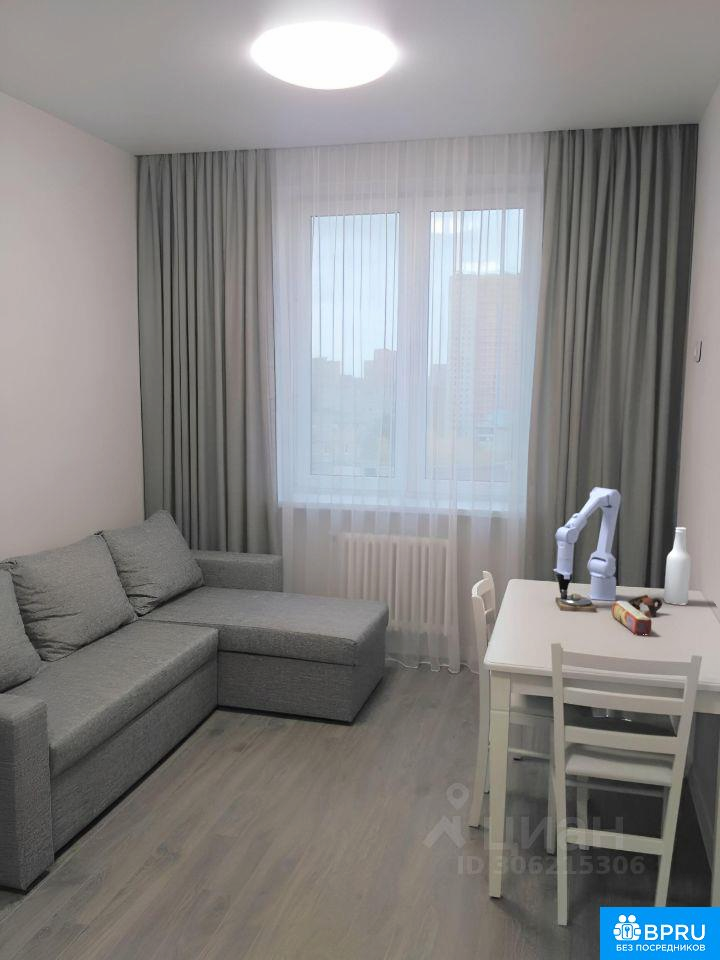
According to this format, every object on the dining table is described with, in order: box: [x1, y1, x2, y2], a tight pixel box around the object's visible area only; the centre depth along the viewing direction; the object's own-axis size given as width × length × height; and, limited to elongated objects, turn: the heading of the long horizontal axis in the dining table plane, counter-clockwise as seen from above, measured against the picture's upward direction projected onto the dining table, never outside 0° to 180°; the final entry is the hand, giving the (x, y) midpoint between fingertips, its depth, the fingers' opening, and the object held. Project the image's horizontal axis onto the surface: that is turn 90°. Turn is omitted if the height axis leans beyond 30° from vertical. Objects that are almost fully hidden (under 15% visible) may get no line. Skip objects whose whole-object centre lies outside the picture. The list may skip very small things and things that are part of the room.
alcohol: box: [663, 526, 692, 604], centre depth 302 cm, size 9×9×30 cm
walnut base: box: [555, 597, 597, 613], centre depth 293 cm, size 13×13×2 cm
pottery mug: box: [628, 594, 663, 618], centre depth 287 cm, size 12×10×8 cm
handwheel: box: [560, 589, 592, 606], centre depth 293 cm, size 11×11×5 cm
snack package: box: [611, 600, 653, 636], centre depth 269 cm, size 21×7×7 cm, turn 2°
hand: (562, 593), depth 295 cm, fingers closed
